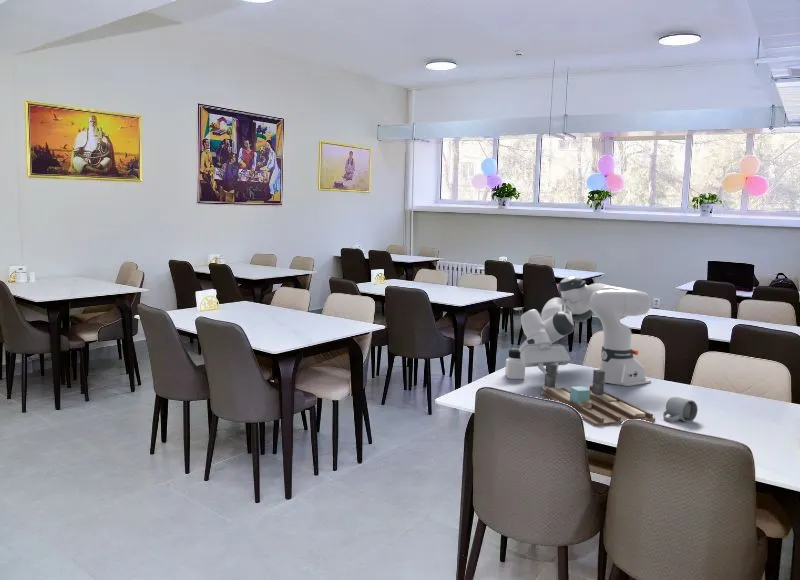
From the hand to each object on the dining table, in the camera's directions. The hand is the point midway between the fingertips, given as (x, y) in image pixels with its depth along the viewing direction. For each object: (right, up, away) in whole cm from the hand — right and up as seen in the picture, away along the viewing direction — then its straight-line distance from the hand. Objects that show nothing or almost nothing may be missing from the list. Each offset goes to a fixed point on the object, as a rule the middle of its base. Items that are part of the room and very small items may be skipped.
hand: (551, 374), depth 253 cm
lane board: (+12, -10, -17) cm, 23 cm away
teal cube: (+6, -8, -18) cm, 21 cm away
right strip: (+3, -8, -9) cm, 13 cm away
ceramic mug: (+38, -12, -27) cm, 48 cm away
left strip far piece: (+21, -10, -23) cm, 33 cm away
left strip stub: (+17, -8, -10) cm, 21 cm away
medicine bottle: (-10, -4, +23) cm, 26 cm away
